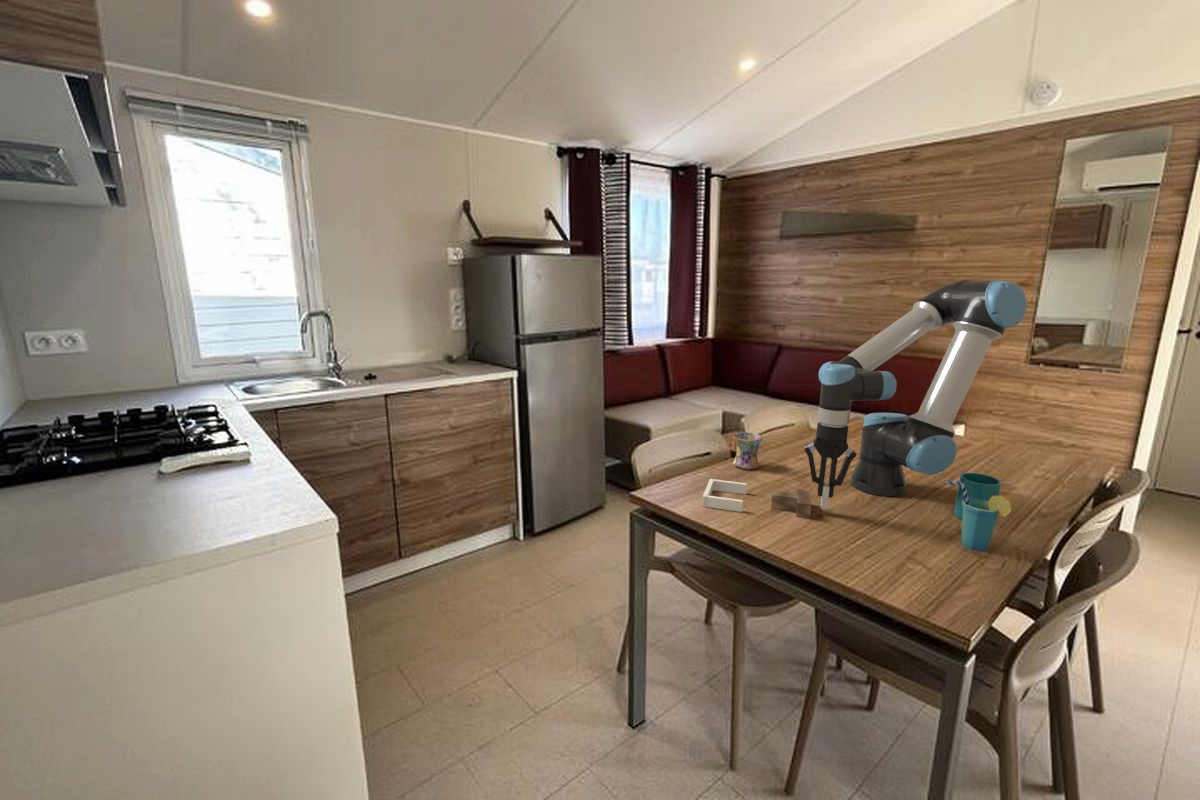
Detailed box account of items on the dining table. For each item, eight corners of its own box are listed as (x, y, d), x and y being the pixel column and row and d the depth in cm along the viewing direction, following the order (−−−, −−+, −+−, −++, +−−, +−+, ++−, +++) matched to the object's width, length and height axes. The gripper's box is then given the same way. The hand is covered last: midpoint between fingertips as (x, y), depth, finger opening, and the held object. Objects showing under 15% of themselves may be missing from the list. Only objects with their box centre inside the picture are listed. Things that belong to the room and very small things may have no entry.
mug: (764, 471, 179) (766, 440, 177) (736, 471, 179) (738, 440, 176) (752, 459, 191) (754, 430, 189) (726, 459, 191) (727, 430, 188)
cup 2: (932, 540, 133) (941, 482, 130) (940, 530, 139) (949, 474, 135) (1002, 561, 124) (1014, 499, 120) (1007, 548, 129) (1019, 489, 126)
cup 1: (999, 514, 148) (1006, 475, 145) (990, 529, 139) (998, 487, 137) (960, 505, 154) (966, 467, 151) (950, 518, 146) (956, 478, 143)
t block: (809, 504, 154) (810, 491, 153) (809, 518, 145) (811, 504, 144) (772, 499, 157) (773, 486, 156) (770, 513, 148) (771, 499, 147)
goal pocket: (746, 492, 161) (746, 483, 161) (741, 512, 148) (742, 501, 147) (709, 488, 165) (710, 478, 164) (702, 506, 152) (702, 496, 151)
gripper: (858, 422, 144) (848, 505, 149) (806, 417, 148) (798, 498, 153) (861, 429, 137) (851, 516, 142) (806, 424, 141) (798, 509, 146)
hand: (823, 507), depth 148 cm, fingers closed
